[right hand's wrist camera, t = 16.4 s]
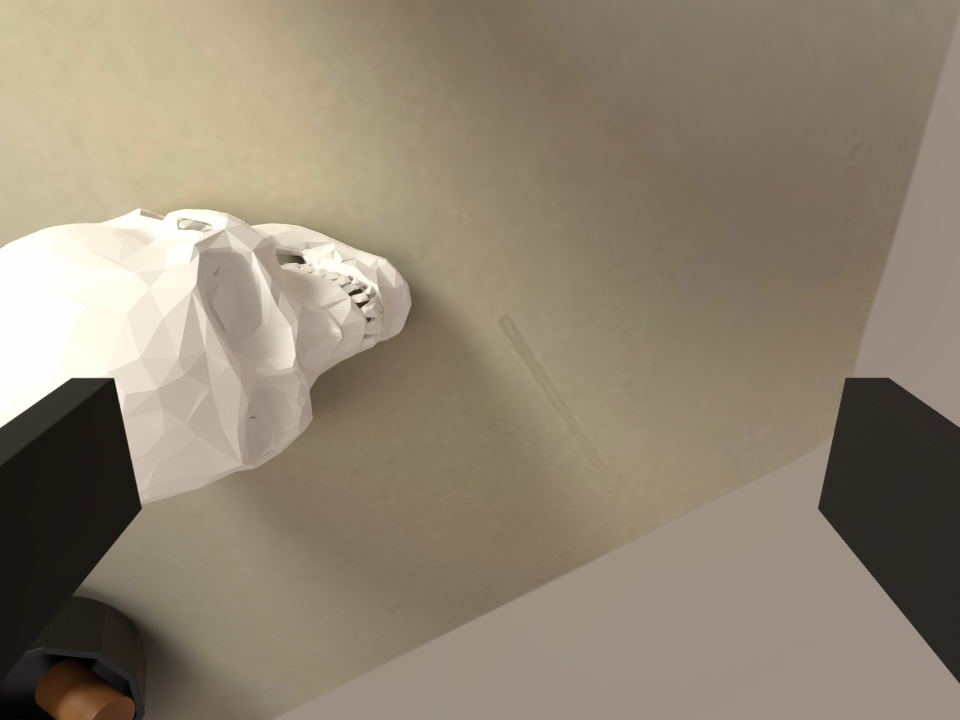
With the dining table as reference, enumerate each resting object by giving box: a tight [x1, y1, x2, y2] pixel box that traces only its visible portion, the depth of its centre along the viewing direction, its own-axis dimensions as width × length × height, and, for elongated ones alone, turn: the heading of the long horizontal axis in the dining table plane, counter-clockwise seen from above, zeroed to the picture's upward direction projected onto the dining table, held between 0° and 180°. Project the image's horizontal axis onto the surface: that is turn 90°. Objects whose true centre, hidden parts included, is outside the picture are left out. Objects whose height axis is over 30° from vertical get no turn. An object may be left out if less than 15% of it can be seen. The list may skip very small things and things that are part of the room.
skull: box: [0, 208, 412, 504], centre depth 34 cm, size 13×22×16 cm, turn 100°
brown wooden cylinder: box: [35, 659, 135, 720], centre depth 46 cm, size 3×3×6 cm
